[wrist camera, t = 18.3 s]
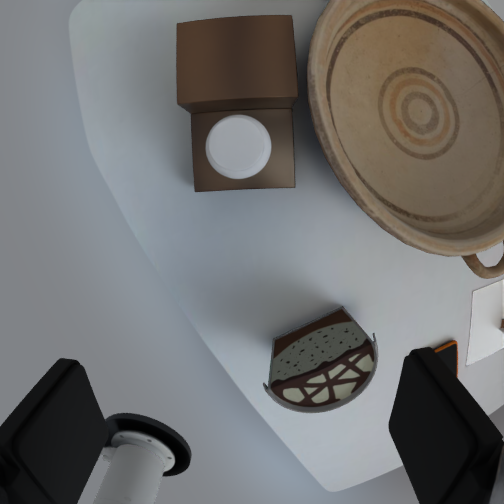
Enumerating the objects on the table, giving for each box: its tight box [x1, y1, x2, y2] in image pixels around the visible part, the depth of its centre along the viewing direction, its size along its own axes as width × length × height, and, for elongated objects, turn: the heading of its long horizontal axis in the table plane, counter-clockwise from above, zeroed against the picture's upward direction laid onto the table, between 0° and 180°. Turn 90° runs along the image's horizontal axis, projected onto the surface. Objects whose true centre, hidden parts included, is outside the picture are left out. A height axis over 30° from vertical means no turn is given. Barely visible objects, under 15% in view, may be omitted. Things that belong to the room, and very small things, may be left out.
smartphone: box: [434, 341, 458, 377], centre depth 40 cm, size 8×17×1 cm, turn 21°
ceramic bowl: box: [307, 0, 504, 279], centre depth 26 cm, size 37×29×10 cm
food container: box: [263, 306, 378, 413], centre depth 34 cm, size 12×6×10 cm, turn 118°
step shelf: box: [176, 15, 299, 192], centre depth 28 cm, size 10×16×8 cm, turn 3°
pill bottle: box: [206, 115, 271, 179], centre depth 26 cm, size 5×5×9 cm
